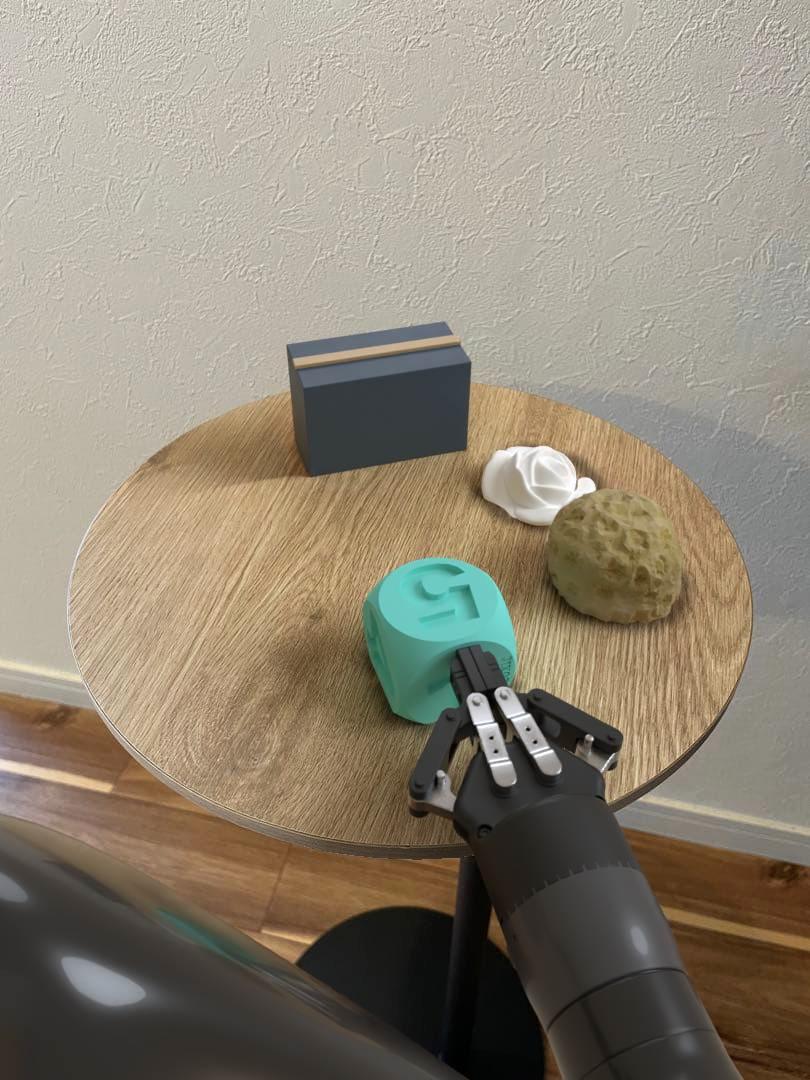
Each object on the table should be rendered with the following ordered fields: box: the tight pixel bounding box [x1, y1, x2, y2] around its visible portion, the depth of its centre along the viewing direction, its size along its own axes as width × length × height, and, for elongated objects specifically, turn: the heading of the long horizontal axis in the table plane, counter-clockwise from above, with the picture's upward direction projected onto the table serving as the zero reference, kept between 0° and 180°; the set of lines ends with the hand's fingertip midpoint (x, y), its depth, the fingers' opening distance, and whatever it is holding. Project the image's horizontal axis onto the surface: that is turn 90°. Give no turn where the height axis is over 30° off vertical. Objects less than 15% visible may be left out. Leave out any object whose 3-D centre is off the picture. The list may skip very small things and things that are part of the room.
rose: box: [481, 445, 597, 527], centre depth 80 cm, size 10×4×10 cm
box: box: [286, 321, 473, 478], centre depth 83 cm, size 14×7×10 cm, turn 106°
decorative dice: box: [362, 557, 518, 725], centre depth 64 cm, size 8×8×8 cm
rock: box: [547, 487, 685, 625], centre depth 71 cm, size 10×11×10 cm
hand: (465, 655), depth 59 cm, fingers closed
